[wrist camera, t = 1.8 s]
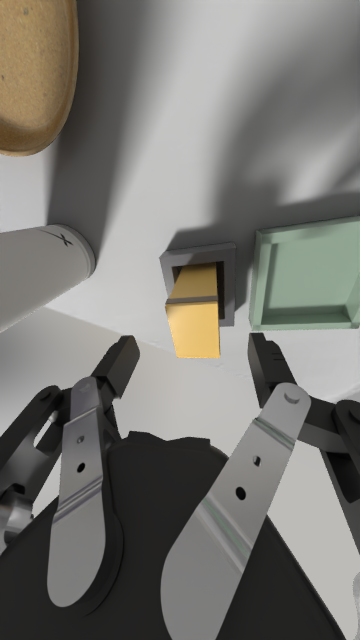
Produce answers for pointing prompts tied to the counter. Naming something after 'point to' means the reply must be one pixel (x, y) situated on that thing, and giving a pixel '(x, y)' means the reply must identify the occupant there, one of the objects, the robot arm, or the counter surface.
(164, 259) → the frame
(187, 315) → the block
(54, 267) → the travel mug
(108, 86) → the counter surface
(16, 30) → the plant saucer
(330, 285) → the parts tray
